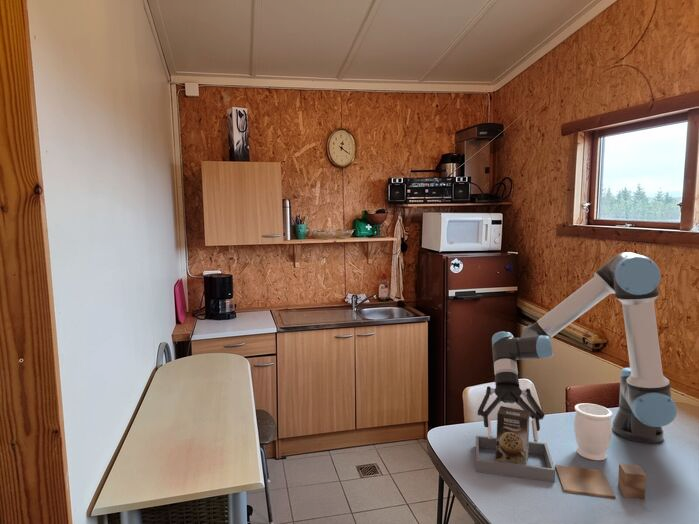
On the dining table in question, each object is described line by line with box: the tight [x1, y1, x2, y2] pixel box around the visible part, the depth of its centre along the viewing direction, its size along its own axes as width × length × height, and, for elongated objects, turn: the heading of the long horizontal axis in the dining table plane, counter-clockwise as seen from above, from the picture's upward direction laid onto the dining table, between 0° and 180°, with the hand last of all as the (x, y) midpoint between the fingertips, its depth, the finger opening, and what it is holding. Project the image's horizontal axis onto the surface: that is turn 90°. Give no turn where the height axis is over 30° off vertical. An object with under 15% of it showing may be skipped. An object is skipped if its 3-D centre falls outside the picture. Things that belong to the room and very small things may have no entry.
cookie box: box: [495, 405, 531, 465], centre depth 142 cm, size 9×6×16 cm
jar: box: [573, 402, 613, 461], centre depth 145 cm, size 11×10×15 cm
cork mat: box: [554, 464, 616, 499], centre depth 131 cm, size 13×13×1 cm
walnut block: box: [617, 462, 647, 501], centre depth 125 cm, size 5×5×7 cm
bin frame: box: [475, 435, 556, 483], centre depth 142 cm, size 22×16×4 cm
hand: (512, 439), depth 140 cm, fingers open, 13 cm apart
